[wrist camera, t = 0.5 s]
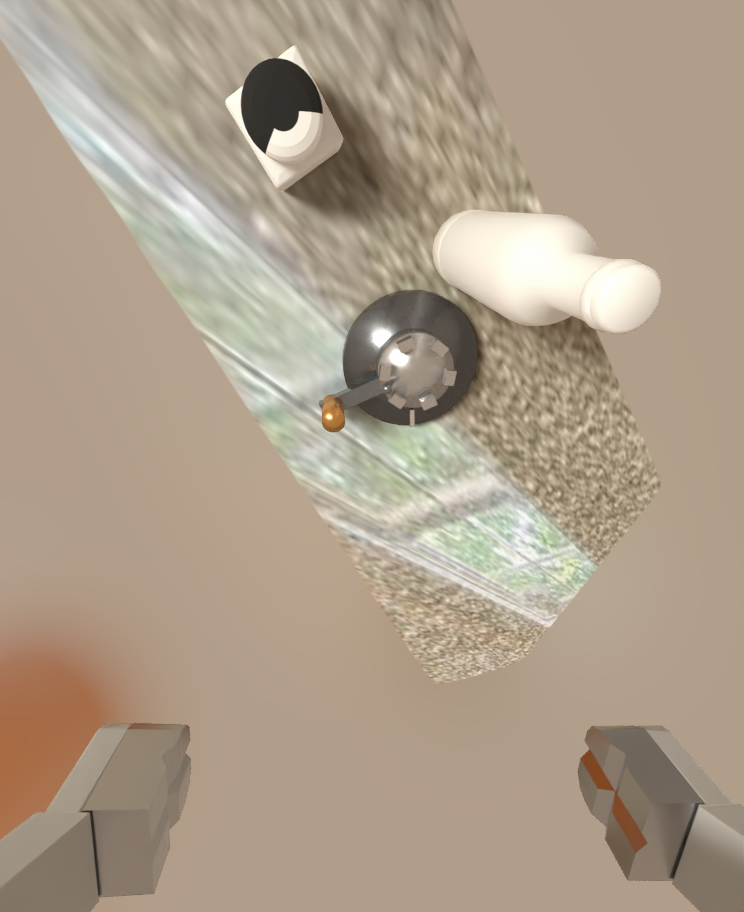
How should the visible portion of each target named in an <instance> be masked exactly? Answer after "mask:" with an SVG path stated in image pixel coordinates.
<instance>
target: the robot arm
mask: <svg viewBox="0 0 744 912" xmlns="http://www.w3.org/2000/svg"><path fill="white" fill-rule="evenodd" d="M189 742H190V730H189V726H188V725H182V724H181V725H180V724H151V723H105V724H104V725H103V726H102V727H101V728H100V729H99V730H98V731H97V732H96V734H95V735H94V737H93V738H92V740H91V742H90V743H89V745H88V746H87V748H86V749H85V751H84V752H83V754H82V756H81V757H80V759H79V760H78V762H77V763H76V765H75V767H74V768H73V770H72V771H71V773H70V774H69V776H68V778H67V779H66V781H65V782H64V784H63V785H62V787H61V788H60V790H59V791H58V793H57V795H56V796H55V798H54V799H53V801H52V803H51V804H50V806H49V807H48V809H47V810H46V812H45V813H35V814H34V815H32V816H31V817H29V818H28V819H27V820H26V821H24V822H23V823H22V824H20V825H19V826H18V827H16V828H15V829H14V830H12V831H11V832H10V833H8V834H7V835H6V836H5V837H3V838H2V839H0V912H90V911H91V910H92V909H93V908H94V906H95V905H96V904H97V903H98V902H99V897H111V896H112V897H113V896H127V895H144V894H154V892H155V888H156V886H157V883H158V880H159V877H160V874H161V872H162V869H163V866H164V863H165V860H166V857H167V854H168V851H169V849H170V839H169V830H170V828H172V826H174V825H175V823H177V822H178V820H179V819H180V816H181V813H182V810H183V807H184V804H185V801H186V796H187V792H188V787H189V782H190V773H191V759H190V757H189V756H188V755H187V754H186V753H185V752H186V750H187V747H188V744H189ZM585 742H586V744H587V745H588V747H589V750H588V751H587V752H586V753H585V754H584V755H583V756H582V757H581V758H580V763H579V768H578V776H579V784H580V789H581V792H582V795H583V798H584V800H585V802H586V804H587V806H588V808H589V810H590V812H591V814H592V815H594V816H595V817H596V818H597V819H598V820H599V821H600V822H602V823H603V824H604V825H605V826H606V834H605V840H606V842H607V844H608V845H609V847H610V849H611V851H612V853H613V854H614V856H615V858H616V860H617V862H618V864H619V866H620V867H621V869H622V871H623V873H624V875H625V877H626V878H627V880H637V881H638V880H639V881H642V880H643V881H647V880H648V881H673V883H672V884H673V885H674V886H675V887H676V888H677V889H678V890H679V891H680V892H681V893H682V894H683V895H684V896H685V897H686V898H687V899H688V900H689V901H690V902H691V903H692V904H693V905H694V906H695V907H696V908H697V909H698V910H699V911H700V912H744V807H743V806H742V805H740V804H732V803H731V802H730V801H729V799H728V798H727V797H726V796H725V795H724V794H723V792H722V791H721V790H720V789H719V788H718V787H717V786H716V784H715V783H714V782H713V781H712V780H711V779H710V777H709V776H708V775H707V774H706V773H705V772H704V770H703V769H702V768H701V767H700V766H699V765H698V763H697V762H696V761H695V760H694V759H693V758H692V756H691V755H690V754H689V753H688V752H687V751H686V750H685V748H684V747H683V746H682V745H681V744H680V743H679V741H678V740H677V739H676V738H675V737H674V736H673V735H672V733H671V732H670V731H669V730H667V729H665V728H664V727H663V726H592V727H591V728H590V729H589V730H588V731H587V734H586V738H585Z"/></svg>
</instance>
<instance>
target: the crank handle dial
mask: <svg viewBox="0 0 744 912" xmlns="http://www.w3.org/2000/svg"><path fill="white" fill-rule="evenodd" d="M376 373H377V376H374V377H372V378H370V379H368V380H366V381H363V382H361V383H359V384H357V385H355V386H352V387H350V388H348V389H346V390H344V391H341V392H339V393H337V394H335V395H329V396H326V397H325V398H324V399H323V400H321V401H319V405H320V407H321V409H322V424H323V427H324V428H325V429H326V430H327V431H329V432H338V431H340V430H341V429H342V428H343V427H344V425H345V418H344V410H346V409H348V408H350V407H352V406H355V405H357V404H359V403H361V402H364V401H366V400H368V399H370V398H372V397H375V396H377V395H379V394H381V393H385V395H386V396H387V397H388V401H389V402H390V403H392V404H393V405H395V406H396V407H398V408H399V409H401V408H402V407H408V408H417V407H422V408H423V410H427V409H429V408H431V407H434V406H436V405H438V404H437V402H436V400H437V399H439V398H440V397H441V396H442V395H443V394H444V393H445V391H446V390H447V389H448V387H449V386H454V382H455V378H456V373H457V371H456V370H455V368H454V364H453V359H452V356H451V353H450V351H449V348H448V347H447V346H446V345H445V344H443V342H442V341H441V340H440V339H439V338H438V337H437V336H436V335H435V334H433V333H432V332H430V331H427V330H424V329H420V328H409V329H404V330H401V331H399V332H397V333H395V334H393V335H392V336H391V337H390V338H388V339H387V340H386V341H385V343H384V344H383V345H382V347H381V348H380V351H379V353H378V356H377V360H376Z"/></svg>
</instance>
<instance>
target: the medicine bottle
mask: <svg viewBox="0 0 744 912" xmlns="http://www.w3.org/2000/svg"><path fill="white" fill-rule="evenodd" d="M226 106H227V108H228V109H229V111H230V113H231V114H232V116H233V118H234V119H235V121H236V123H237V124H238V126H239V128H240V129H241V131H242V133H243V134H244V136H245V138H246V139H247V141H248V142H249V144H250V146H251V147H252V149H253V151H254V152H255V154H256V156H257V157H258V159H259V161H260V162H261V164H262V166H263V167H264V169H265V171H266V172H267V174H268V175H269V177H270V179H271V180H272V182H273V184H274V185H275V187H276V188H278V189H281V190H286V189H287V188H289V187H290V186H291V185H293V184H294V183H296V182H297V181H298V180H300V179H301V178H302V177H304V176H305V175H307V174H308V173H309V172H311V171H312V170H313V169H315V168H316V167H317V166H319V165H320V164H322V163H323V162H324V161H326V160H327V159H328V158H330V157H331V156H332V155H334V154H335V153H337V152H338V151H339V150H340V147H341V145H342V143H343V136H342V134H341V132H340V130H339V128H338V126H337V124H336V122H335V120H334V118H333V116H332V114H331V112H330V110H329V108H328V106H327V104H326V102H325V100H324V98H323V96H322V94H321V92H320V90H319V88H318V86H317V84H316V82H315V80H314V78H313V76H312V74H311V72H310V70H309V68H308V66H307V64H306V62H305V60H304V58H303V56H302V54H301V52H300V50H299V49H298V47H297V46H292V47H290V48H289V49H288V50H287V51H285V52H284V53H283V54H282V55H281V56H279V57H278V58H273V59H268V60H265V61H263V62H261V63H259V64H258V65H257V66H256V67H254V68H253V69H252V71H251V72H250V73H249V75H248V76H247V78H246V80H245V83H244V85H243V86H242V87H241V88H239V89H238V90H237V91H236V92H234V93H233V94H232V95H231V96H229V97H228V98H227V99H226Z"/></svg>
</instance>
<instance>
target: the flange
mask: <svg viewBox="0 0 744 912" xmlns="http://www.w3.org/2000/svg"><path fill="white" fill-rule="evenodd" d="M409 328H420V329H424V330H427V331H430V332H432V333H433V334H435V335H436V336H437V337H438V338H439V339H440V340H441V341H442V342H443V344H445V345H446V346H447V347H448V348H449V351H450V353H451V356H452V359H453V364H454V368H455V370H456V371H457V373H456V378H455V382H454V386H449V387H448V389H447V390H446V391H445V393H444V394H443V395H442V396H441V397H440V398H439V399H437V400H436V402H437V404H438V405H436V406H434V407H431V408H429V409H427V410H423V408H422V407H417V408H408V407H402V408H401V409H399V408H398V407H396V406H395V405H393V404H392V403H390V402H389V401H388V397H387V396H386V395H385V393H381V394H379V395H377V396H375V397H372V398H370V399H368V400H366V401H364V402H361V403H359V404H358V405H359V406H360V407H361V408H362V409H363V410H364V411H366V412H367V413H368V414H370V415H371V416H373V417H375V418H377V419H379V420H381V421H384V422H387V423H391V424H397V425H410V427H411V426H415V424H418V423H423V422H426V421H429V420H432V419H434V418H436V417H438V416H440V415H442V414H443V413H445V412H446V411H448V410H449V409H450V408H452V407H453V406H454V405H455V404H456V403H457V402H458V401H459V400H460V399H461V397H462V396H463V395H464V393H465V392H466V390H467V389H468V387H469V385H470V383H471V381H472V379H473V376H474V373H475V370H476V365H477V358H478V347H477V341H476V336H475V333H474V330H473V328H472V326H471V324H470V322H469V320H468V319H467V317H466V316H465V315H464V313H463V312H462V311H461V310H460V309H459V308H458V307H456V306H455V305H454V304H453V303H451V302H450V301H449V300H447V299H445V298H444V297H442V296H440V295H437V294H435V293H432V292H428V291H423V290H404V291H399V292H395V293H392V294H389V295H386V296H384V297H382V298H380V299H378V300H377V301H375V302H374V303H372V304H371V305H370V306H369V307H367V308H366V309H365V310H364V311H363V312H362V313H361V314H360V316H359V317H358V318H357V319H356V321H355V322H354V324H353V325H352V327H351V329H350V331H349V333H348V335H347V338H346V341H345V345H344V350H343V371H344V376H345V381H346V384H347V387H348V388H350V387H352V386H355V385H357V384H359V383H361V382H363V381H366V380H368V379H370V378H372V377H374V376H377V373H376V360H377V356H378V353H379V351H380V348H381V347H382V345H383V344H384V343H385V341H386V340H387V339H388V338H390V337H391V336H392V335H393V334H395V333H397V332H399V331H401V330H404V329H409Z"/></svg>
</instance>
